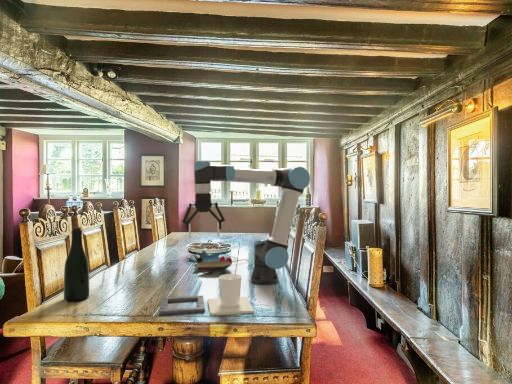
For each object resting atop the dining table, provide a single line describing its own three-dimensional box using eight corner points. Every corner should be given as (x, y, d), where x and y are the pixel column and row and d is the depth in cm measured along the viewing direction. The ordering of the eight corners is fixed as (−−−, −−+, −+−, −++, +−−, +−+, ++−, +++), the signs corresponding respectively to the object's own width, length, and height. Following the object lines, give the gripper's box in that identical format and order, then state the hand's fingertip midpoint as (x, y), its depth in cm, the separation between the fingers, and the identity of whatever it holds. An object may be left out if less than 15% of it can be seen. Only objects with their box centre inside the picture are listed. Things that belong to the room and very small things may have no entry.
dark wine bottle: (71, 294, 164) (72, 225, 164) (93, 295, 164) (93, 225, 163) (58, 302, 153) (58, 228, 153) (81, 302, 153) (81, 228, 153)
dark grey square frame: (202, 298, 160) (202, 295, 160) (204, 312, 142) (204, 308, 142) (162, 300, 156) (162, 297, 156) (159, 315, 139) (159, 311, 139)
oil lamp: (201, 278, 197) (201, 264, 197) (187, 267, 224) (188, 255, 224) (237, 274, 207) (237, 261, 207) (220, 264, 234) (220, 252, 234)
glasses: (218, 262, 240) (218, 255, 240) (236, 259, 251) (236, 252, 251) (231, 265, 230) (231, 258, 230) (249, 262, 241) (249, 255, 241)
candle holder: (237, 309, 144) (238, 280, 144) (215, 307, 146) (215, 278, 146) (243, 301, 153) (243, 274, 153) (222, 299, 155) (222, 273, 155)
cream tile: (246, 299, 160) (246, 296, 160) (254, 312, 142) (254, 310, 142) (207, 301, 156) (207, 299, 156) (210, 315, 139) (210, 313, 139)
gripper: (176, 193, 161) (177, 239, 161) (229, 192, 165) (230, 236, 165) (177, 193, 168) (178, 236, 168) (228, 192, 172) (229, 234, 173)
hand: (204, 236), depth 167 cm, fingers open, 13 cm apart
